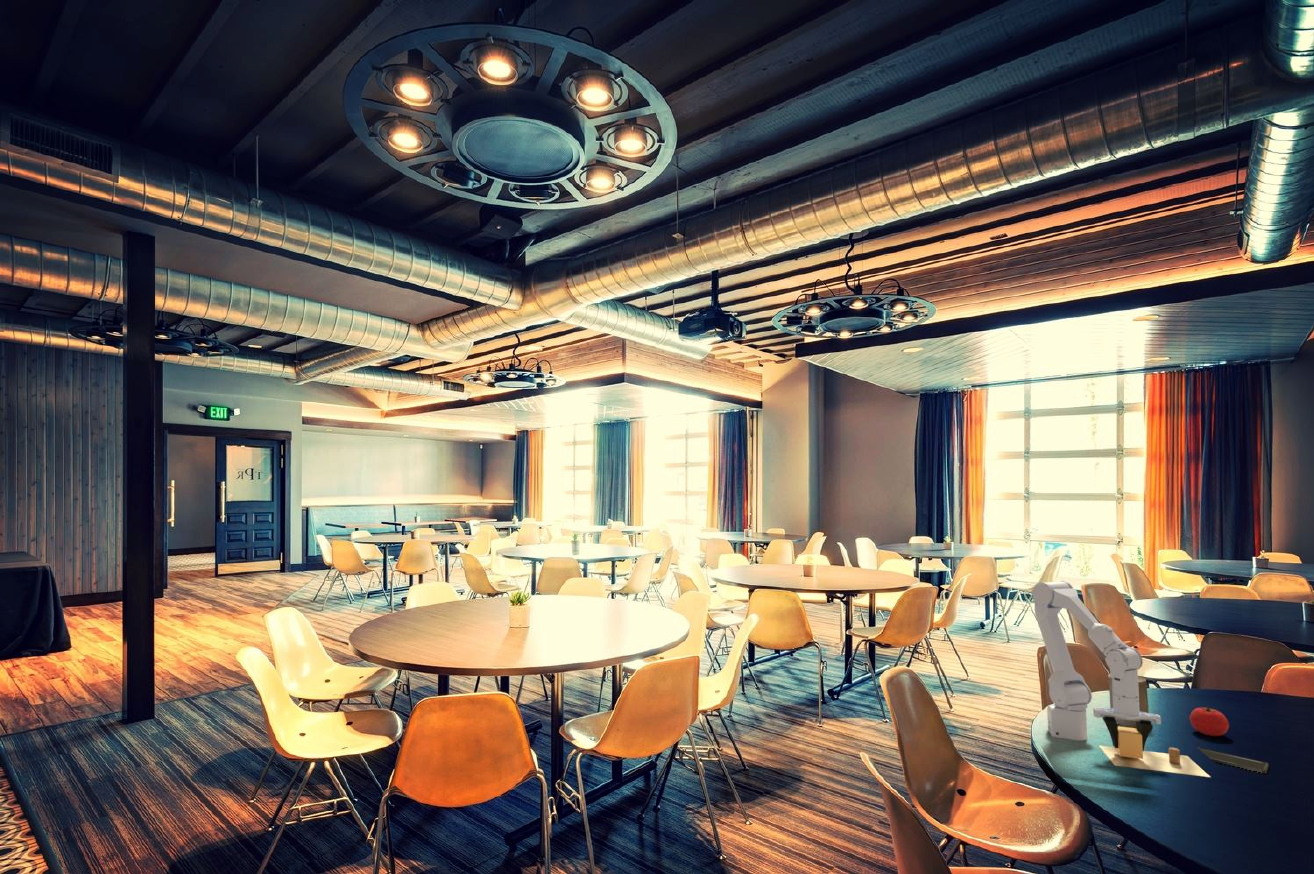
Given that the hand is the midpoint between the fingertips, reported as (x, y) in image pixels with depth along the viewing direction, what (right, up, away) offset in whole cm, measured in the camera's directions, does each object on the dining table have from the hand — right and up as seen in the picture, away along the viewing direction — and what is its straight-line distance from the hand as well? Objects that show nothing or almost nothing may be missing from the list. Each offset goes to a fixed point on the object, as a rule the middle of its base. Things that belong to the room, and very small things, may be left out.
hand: (1128, 748), depth 173 cm
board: (+5, -3, -2) cm, 6 cm away
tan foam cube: (0, -1, 0) cm, 1 cm away
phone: (+27, -4, +1) cm, 27 cm away
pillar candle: (+21, -6, +29) cm, 36 cm away
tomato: (+38, -6, +20) cm, 43 cm away
